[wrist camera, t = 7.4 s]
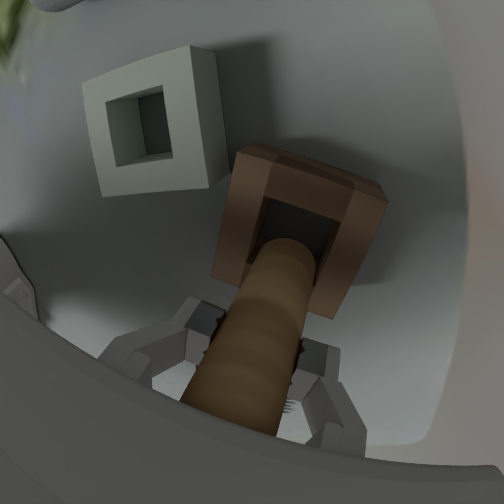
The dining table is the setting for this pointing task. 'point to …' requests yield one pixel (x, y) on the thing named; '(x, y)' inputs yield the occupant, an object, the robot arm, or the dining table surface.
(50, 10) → the ceramic mug
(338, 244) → the walnut bead
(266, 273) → the brown cylinder
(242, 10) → the dining table surface
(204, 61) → the sage bead
